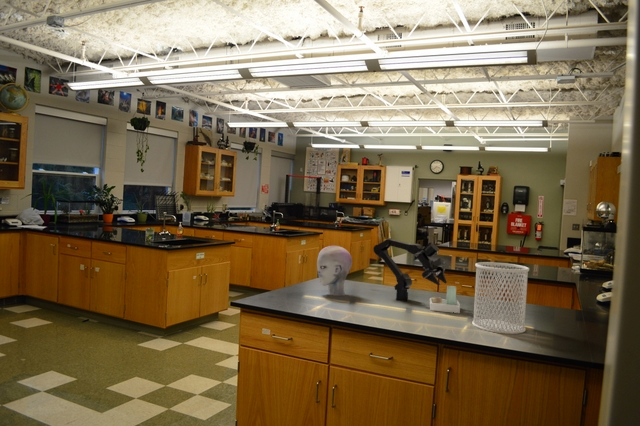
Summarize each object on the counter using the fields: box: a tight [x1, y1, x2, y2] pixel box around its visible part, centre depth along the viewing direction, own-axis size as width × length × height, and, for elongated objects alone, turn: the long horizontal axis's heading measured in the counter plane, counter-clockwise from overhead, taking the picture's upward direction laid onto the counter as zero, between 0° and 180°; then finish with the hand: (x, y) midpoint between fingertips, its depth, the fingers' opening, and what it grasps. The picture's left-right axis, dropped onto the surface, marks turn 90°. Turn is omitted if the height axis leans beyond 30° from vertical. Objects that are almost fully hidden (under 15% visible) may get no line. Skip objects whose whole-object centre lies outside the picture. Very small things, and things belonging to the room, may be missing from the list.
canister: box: [445, 285, 457, 305], centre depth 261 cm, size 5×5×12 cm
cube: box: [432, 296, 443, 304], centre depth 262 cm, size 5×5×5 cm
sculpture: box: [316, 245, 353, 296], centre depth 288 cm, size 22×20×30 cm
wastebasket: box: [471, 261, 530, 335], centre depth 228 cm, size 25×25×30 cm
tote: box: [429, 297, 461, 314], centre depth 262 cm, size 16×14×4 cm
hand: (442, 283), depth 264 cm, fingers open, 9 cm apart
